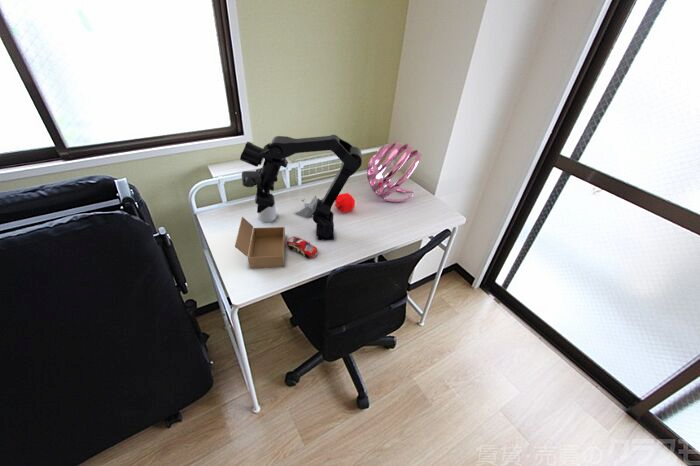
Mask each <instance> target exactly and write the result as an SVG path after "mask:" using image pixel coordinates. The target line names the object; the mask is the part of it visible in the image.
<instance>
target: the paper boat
mask: <svg viewBox="0 0 700 466" xmlns="http://www.w3.org/2000/svg"><path fill="white" fill-rule="evenodd" d="M317 199H318V198H317V195H315V196H314V197H313V198H312V200H311V201H310V202H309V203H304V207H303V208H302V209H301V210H299V211H297V212H296V213H295V214H296V215H298V216H301V217H303V218H306V219H307V218H310V217H311V216H313V215H312V211H313V206H314V204H315V203H316V202H317ZM305 200H306V199H301V201H302V202H305Z"/></svg>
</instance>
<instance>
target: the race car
mask: <svg viewBox="0 0 700 466" xmlns="http://www.w3.org/2000/svg"><path fill="white" fill-rule="evenodd" d="M285 245H286V247H287V248H288V249H289V250H290V251H294V252H296V253H297V254H299V255H302V256H303V257H305V258H306V259H312V258H315V257H316V256H317V255H318V248H317V247H316V246H315V245H313V244H311V242H310V241H307V240H305V239H303V238H301V237H298V236H295V235H293V236H290V237H289V238H288V239H287V240H286V241H285Z"/></svg>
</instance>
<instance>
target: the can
mask: <svg viewBox="0 0 700 466" xmlns="http://www.w3.org/2000/svg"><path fill="white" fill-rule="evenodd" d="M270 194H273V192H272V191H270ZM273 196H274V201H275V203H274V206H273V207H268V208H266V209H265V210H263V211H262V212H261V213H257V216H258V219H259V221H261V222H263V223H271V222H273V221H274V220H276V218H277V209H276V199H275V195H274V194H273ZM257 207H258V204H256V208H257Z"/></svg>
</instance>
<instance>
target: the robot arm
mask: <svg viewBox="0 0 700 466" xmlns="http://www.w3.org/2000/svg"><path fill="white" fill-rule="evenodd" d="M324 151H331V152H332V153H333V154H335V156H336V157H337V158H338V159H339V160H340V161H341V164H340V167H339V169H338V172H337V173H336V175H335V177H334V179H333V180H332V182H331V184H330V186H329V188H328V190H327V191H326V193H325V195H324V197H323V198H321V199H320V198H317V202H316V203H315V204H314V206H313V211H312V215H311V216H312V221H313V222H314V223H315V233H316V234H315V235H316V237H317V241H334V240H335V235H334V233H335V231H334V230H335V223H334V215H335V213H334V212H333V211H331V210H332V207H333V205H334V204H335V200H336V198H337V197H338V195H340V194H341V192H342V190H343V188H344V187H345V185H346V183H347V182H348V180H349V178H350V177H351V176H353V175H354V174H355V173H356V172H357V171H358V170H359V169H360V168H361V166H362V164H363V157H362V150H361V149H360V148H359V147H357V146H353V145H352V144H351V143H349V142H348V141H346V140H344V139H342V138H341V137H339V136H338V135H336V134H331V135H325V136H323V135H321V136H313V137H302V138H294V137H291V136H284V135H283V136H282V135H276V136H274V137H273V138H272V139H271V141H270V142H269V143H267V144H265V145H264V146H263V147H261V146H258V145H256V144H253V143H252V142H250V141H246V143H245V145H244V147H243V150H242V152H241V154H240V158H239V160H240V161H241V162H244V163H246V164H249V165H251V166H253V167H256V168H257V167H259V166H262V167H260V168H257V169H255V170H244V171H242V172H241V181H242V182H241V183H242V187H245V188H253V187H255V186H256V193H255V197H254V203H255V204H256V205H257V204H258V207H257V206H256V213H257V214H258V213H261V212H262V211H263V210H265V209H266V208H268V207H273V206H274V203H275V204H276V200H275V201H274V198H275V195H274V194H273V193H272V194H270V192H272V191H274V190H275V183H276V182H278V175H279V173H280V170H281V167H282V168H287V166H288V164H289V161H288V160H287V158H289V157H291V156H294V155H296V154H301V153H302V154H304V153H315V152H324ZM273 195H274V196H273Z"/></svg>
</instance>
